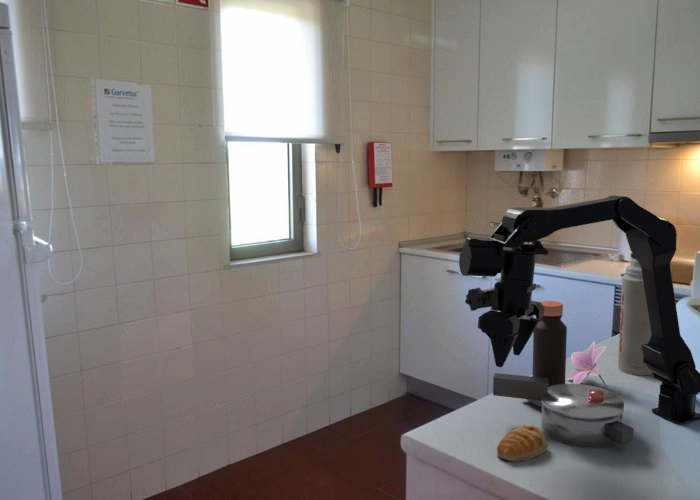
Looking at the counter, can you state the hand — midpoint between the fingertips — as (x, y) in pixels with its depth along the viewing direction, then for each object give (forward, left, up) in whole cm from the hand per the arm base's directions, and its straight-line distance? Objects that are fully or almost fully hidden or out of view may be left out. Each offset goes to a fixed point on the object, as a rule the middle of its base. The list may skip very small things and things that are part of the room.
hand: (508, 360), depth 109 cm
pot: (-13, +3, -14) cm, 19 cm away
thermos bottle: (-48, -11, -14) cm, 51 cm away
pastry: (+2, +7, -15) cm, 16 cm away
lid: (-10, +2, -9) cm, 13 cm away
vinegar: (-20, -10, -14) cm, 27 cm away
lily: (-31, -10, -14) cm, 35 cm away
